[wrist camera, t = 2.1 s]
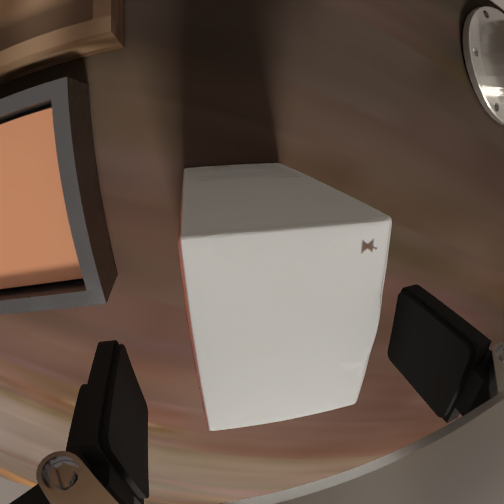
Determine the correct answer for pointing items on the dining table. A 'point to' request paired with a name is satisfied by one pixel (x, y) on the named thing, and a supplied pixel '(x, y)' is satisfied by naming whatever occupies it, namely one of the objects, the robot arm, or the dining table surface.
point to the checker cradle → (68, 199)
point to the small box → (278, 291)
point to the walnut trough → (56, 33)
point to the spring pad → (33, 206)
